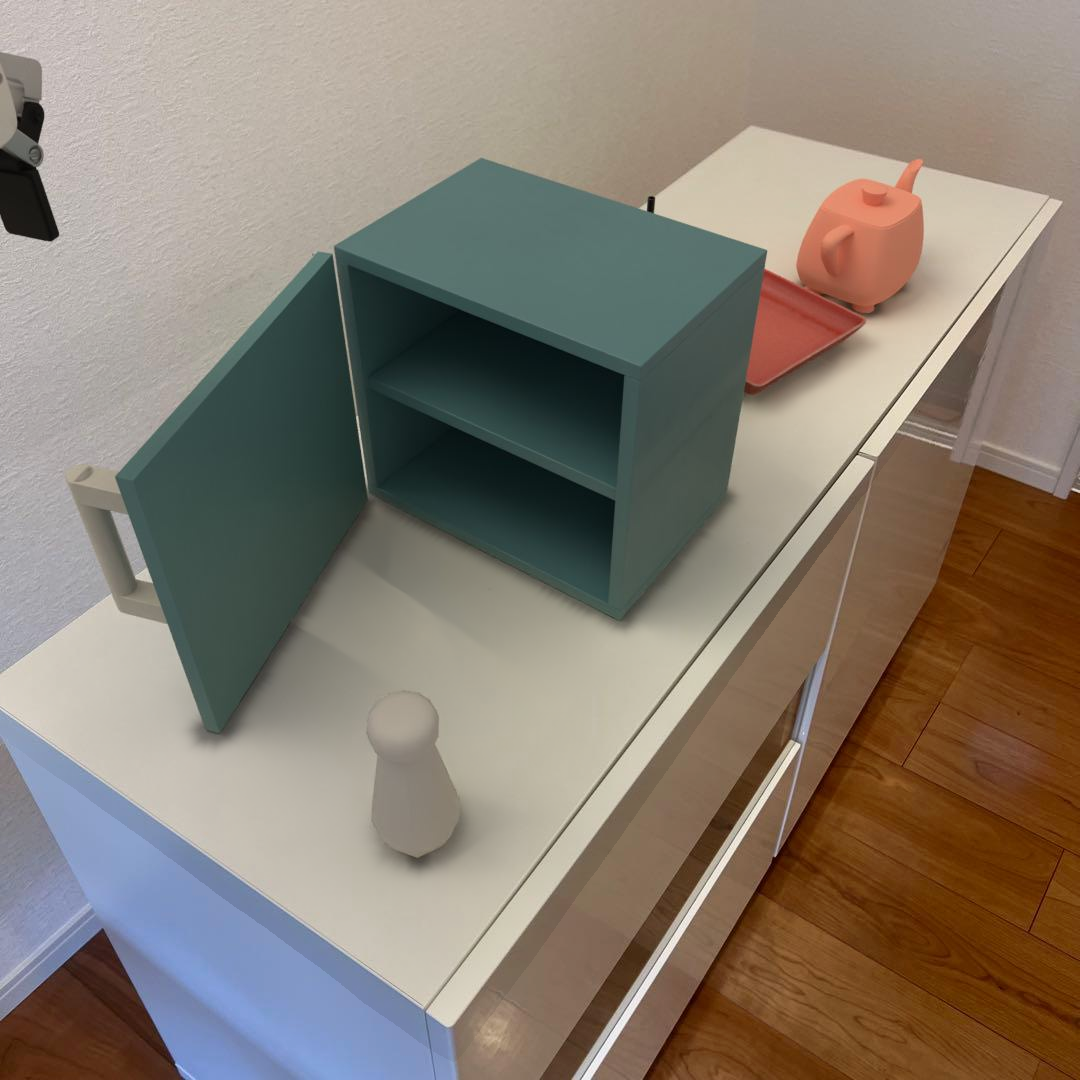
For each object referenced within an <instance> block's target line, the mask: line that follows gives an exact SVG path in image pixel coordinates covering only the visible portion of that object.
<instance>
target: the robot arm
mask: <svg viewBox="0 0 1080 1080" xmlns="http://www.w3.org/2000/svg"><path fill="white" fill-rule="evenodd" d="M42 90H43V67H42V64H41V62H40V61H39V60H38V59H35V58H32V57H26V56H21V55H17V54H11V53H6V52H2V51H0V219H1V223H2V224H3V227H4V229H5V231H6V232H7V233H8V234H11V235H15V236H19V237H24V238H29V239H33V240H39V241H43V242H50V243H51V242H53V241H55V240H57V239H58V238H59V237H60V231H59V228H58V225H57V222H56V219H55V216H54V213H53V211H52V207H51V205H50V200H49V197H48V195H47V192H46V189H45V186H44V184H43V180H42V178H41V177H42V176H41V175H40V172H39V169H37V168H38V167H40V166H41V165H42V163H43V161H44V158H45V154H44V150H43V148H42V146H41V145H40V144H39V141H40V139H41V133H42V130H43V126H44V123H45V122H44V121H45V110H44V108H43V105H41V104H40V101H42V99H43V98H42V97H43V96H42V95H43V93H42V92H43V91H42Z"/></svg>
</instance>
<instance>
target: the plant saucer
mask: <svg viewBox="0 0 1080 1080" xmlns="http://www.w3.org/2000/svg"><path fill="white" fill-rule="evenodd" d="M866 324H867V318H866V317H864V316H862V315H860V314H859V313H857V312H855V311H852V310H851V309H849V308H847V307H844V306H843V305H840V304H838V303H836V302H835V301H833V300H831V299H828V298H827V297H826V298H825V297H824V296H822V295H821V294H816V293H814V292H812V291H810V290H808V289H806V288H805V286H801V285H799V284H798V283H796V282H794V281H792V280H789V279H787V278H785V277H783V276H781V275H779V274H777V273H775V272H772V271H771V270H768V269H767V268H765V269H764V275H763V281H762V287H761V293H760V299H759V305H758V311H757V317H756V323H755V329H754V335H753V341H752V346H751V352H750V358H749V364H748V370H747V376H746V382H745V388H744V394H747V395H748V396H749V395H750V396H753V395H757V394H759V393H760V392H762V391H763V390H765V389H767V388H769V387H770V386H772V385H773V384H775V383H777V382H778V381H780V380H781V379H784V378H785V377H786V376H789V375H790V374H792V373H793V372H795V371H797V370H798V369H800V368H801V367H803V366H805V365H807V364H808V363H810V362H812V361H813V360H815V359H816V358H818V357H820V356H821V355H823V354H825V353H826V352H828V351H829V350H831V349H833V348H834V347H836V346H837V345H839V344H841V343H842V342H844V341H845V340H847V339H848V338H850V337H852V335H854V334H855V333H857V332H858V331H859V330H861V328H862V327H864V326H865V325H866Z"/></svg>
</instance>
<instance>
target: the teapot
mask: <svg viewBox="0 0 1080 1080" xmlns="http://www.w3.org/2000/svg"><path fill="white" fill-rule="evenodd" d="M923 164H924V160H923V159H921V158H917V159H914V160H912V161H910V162H909V163H908V164H907V166H906V167H905V169H903V171H902V174H901V175H900V177H899V179H898V180H897V182H896V184H895V185H894V186H892V185H890V184H886V183H882V182H880V181H876V180H872V179H868V178H857V179H853V180H851V181H848V182H846V183H845V184H843V185H841V186H839V187H837V188H836V189H835V190H834V191H832V192H831V193H830V194H829V195H827V197H826V198H825V199H824V200H823V201H822V203H821V205H820V206H819V208H818V210H817V211H816V213H815V214H814V217H813V218H812V220H811V222H810V224H809V225H808V227H807V230H806V231H805V234H804V236H803V238H802V241H801V243H800V247H799V250H798V253H797V258H796V265H795V266H796V272H797V275H798V278H799V280H800V282H801V283H802V284H803V285H805V286H804V288H806V289H808V290H810V291H812V292H814V293H816V294H818V295H824V294H825V295H828V296H830V297H833V298H835V299H838V300H841V301H844V302H846V303H849V304H851V307H852V309H853V310H854V311H856V312H859V313H861V314H870V313H872V312H874V310H875V305H877V304H880V303H882V302H883V301H885V300H887V299H888V298H890V297H892V296H893V295H895V294H896V293H898V292H899V291H900V290H901V289H902V288H903V287H904V286H905V285H906V283H907V282H908V281H909V280H910V279H911V278H912V276H913V275H914V273H915V271H916V270H917V268H918V265H919V263H920V260H921V257H922V253H923V252H922V251H923V246H924V236H925V235H924V234H925V222H924V208H923V200H922V198H921V197H920V196H919V195H917V194H915V193H913V190H914V185H915V182H916V178H917V175H918V173H919V172H920V170H921V168H922V167H923Z"/></svg>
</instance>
